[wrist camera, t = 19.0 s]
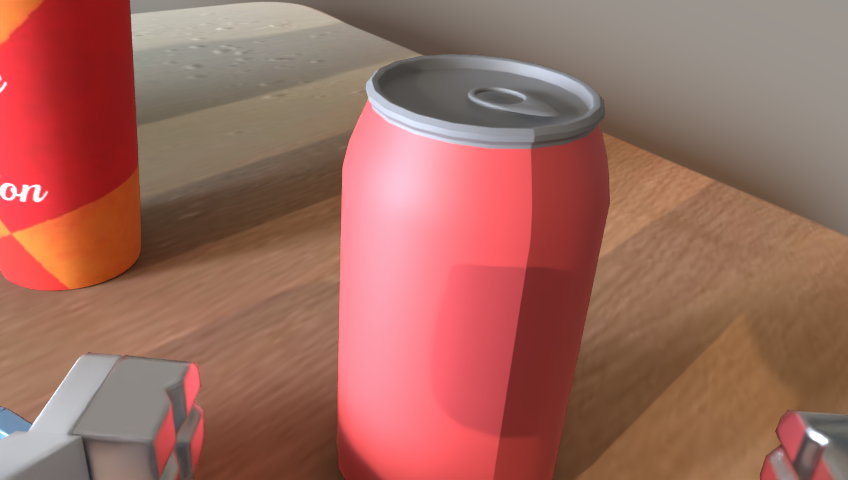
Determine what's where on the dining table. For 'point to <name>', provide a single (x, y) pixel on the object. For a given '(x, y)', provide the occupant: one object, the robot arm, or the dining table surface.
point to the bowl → (11, 423)
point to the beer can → (466, 267)
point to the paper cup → (67, 143)
